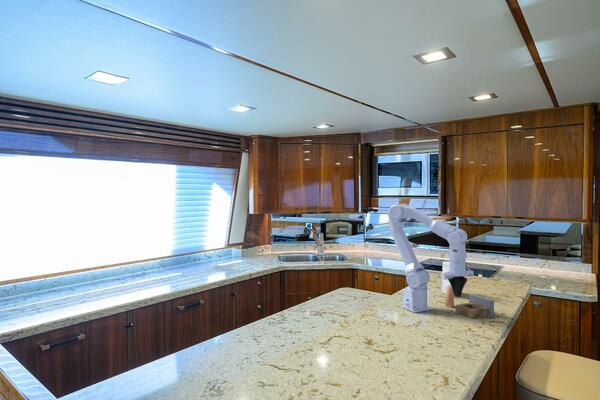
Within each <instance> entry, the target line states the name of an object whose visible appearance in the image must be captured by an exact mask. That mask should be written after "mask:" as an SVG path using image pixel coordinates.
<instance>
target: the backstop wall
mask: <svg viewBox="0 0 600 400" xmlns="http://www.w3.org/2000/svg"><path fill="white" fill-rule="evenodd" d="M470 302H471V303H474V304H477V305H480V306H483V307H486V308H488V316H487V317H494V316H495V301H494V299H491V298H488V297H485V296H481V295H477V294H476V293H470V294H468V303H470Z"/></svg>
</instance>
